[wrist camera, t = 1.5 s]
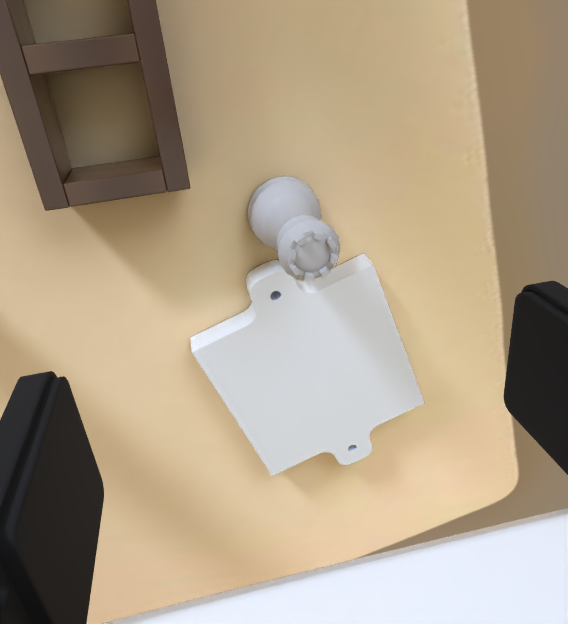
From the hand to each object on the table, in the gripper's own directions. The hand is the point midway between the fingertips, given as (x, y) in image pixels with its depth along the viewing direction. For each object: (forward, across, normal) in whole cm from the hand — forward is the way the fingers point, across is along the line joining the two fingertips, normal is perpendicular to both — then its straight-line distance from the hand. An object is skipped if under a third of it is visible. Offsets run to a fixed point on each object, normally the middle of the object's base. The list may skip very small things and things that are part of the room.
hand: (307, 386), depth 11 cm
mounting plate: (+24, -5, +15) cm, 28 cm away
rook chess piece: (+23, -4, +3) cm, 24 cm away
